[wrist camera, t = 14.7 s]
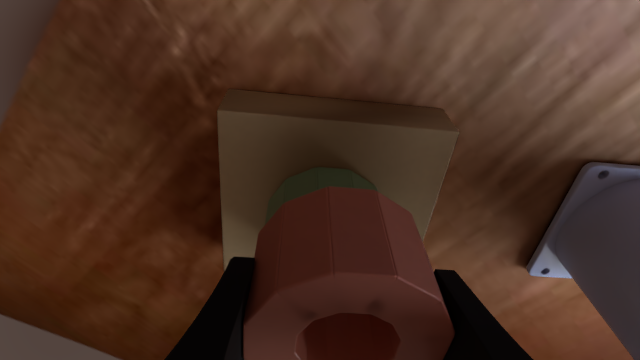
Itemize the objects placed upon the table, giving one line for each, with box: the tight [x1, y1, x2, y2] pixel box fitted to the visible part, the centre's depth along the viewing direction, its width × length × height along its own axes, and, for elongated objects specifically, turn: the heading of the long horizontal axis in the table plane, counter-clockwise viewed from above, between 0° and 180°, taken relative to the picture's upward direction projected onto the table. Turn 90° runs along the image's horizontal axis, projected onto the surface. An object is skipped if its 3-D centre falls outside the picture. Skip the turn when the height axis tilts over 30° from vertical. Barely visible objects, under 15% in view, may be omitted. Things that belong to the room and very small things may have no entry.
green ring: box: [265, 167, 378, 224], centre depth 17 cm, size 6×6×4 cm
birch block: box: [217, 89, 459, 272], centre depth 19 cm, size 10×10×2 cm
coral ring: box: [243, 186, 455, 360], centre depth 12 cm, size 6×6×4 cm
